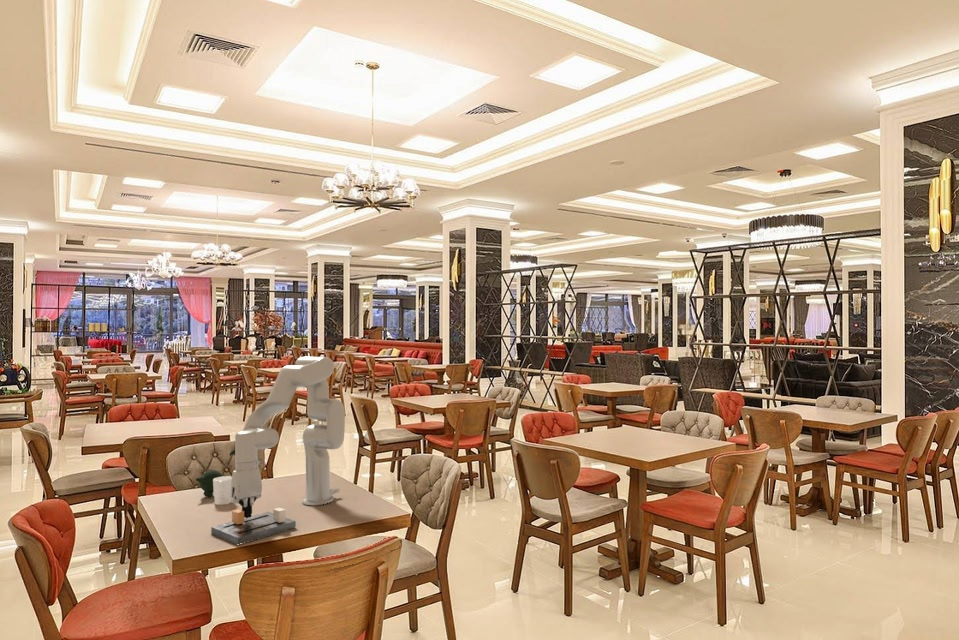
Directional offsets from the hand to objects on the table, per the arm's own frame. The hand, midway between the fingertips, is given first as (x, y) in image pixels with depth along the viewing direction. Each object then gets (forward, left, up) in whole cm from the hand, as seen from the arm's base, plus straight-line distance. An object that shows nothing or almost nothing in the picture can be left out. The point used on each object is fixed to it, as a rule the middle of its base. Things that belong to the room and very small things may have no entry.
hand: (247, 516), depth 223 cm
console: (0, +5, -4) cm, 6 cm away
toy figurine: (-18, -53, -4) cm, 56 cm away
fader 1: (+3, 0, -2) cm, 4 cm away
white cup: (-11, -38, -4) cm, 40 cm away
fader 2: (-7, +10, -2) cm, 12 cm away
